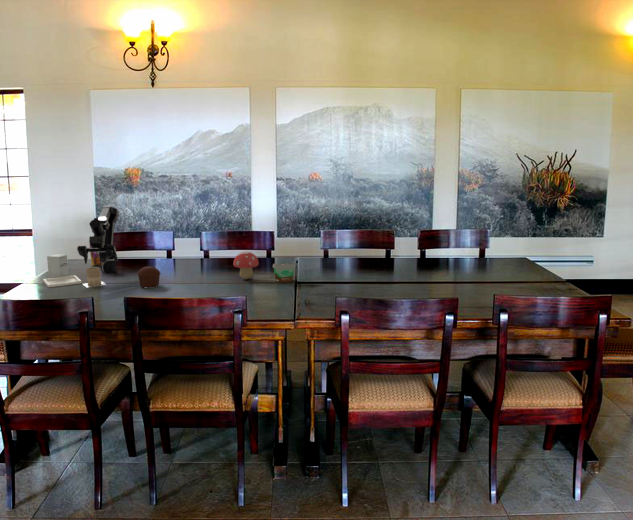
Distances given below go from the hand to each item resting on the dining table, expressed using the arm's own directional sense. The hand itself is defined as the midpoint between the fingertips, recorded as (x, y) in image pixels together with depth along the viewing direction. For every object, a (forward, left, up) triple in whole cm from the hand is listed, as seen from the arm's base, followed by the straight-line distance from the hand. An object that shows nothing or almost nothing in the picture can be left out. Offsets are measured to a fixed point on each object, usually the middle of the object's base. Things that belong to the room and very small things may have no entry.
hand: (94, 263), depth 298 cm
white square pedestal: (+2, +4, -11) cm, 11 cm away
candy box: (-13, -51, -11) cm, 54 cm away
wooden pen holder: (+2, +4, -10) cm, 11 cm away
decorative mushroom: (-69, +36, -11) cm, 79 cm away
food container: (-83, +54, -11) cm, 100 cm away
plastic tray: (+15, -10, -11) cm, 21 cm away
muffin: (-21, +22, -11) cm, 32 cm away
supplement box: (+14, -26, -11) cm, 32 cm away
